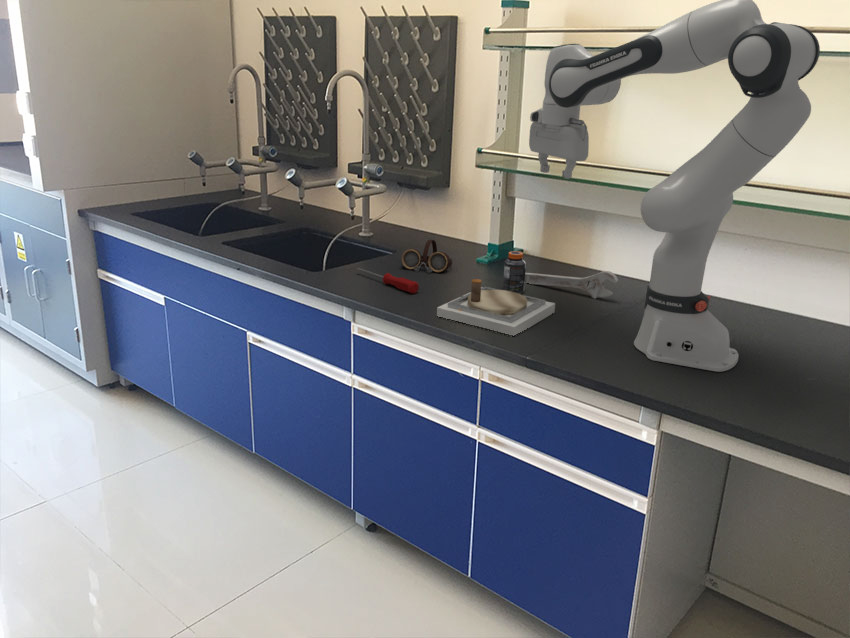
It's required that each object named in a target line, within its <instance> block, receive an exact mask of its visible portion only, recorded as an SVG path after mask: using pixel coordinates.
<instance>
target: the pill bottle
mask: <svg viewBox="0 0 850 638" xmlns="http://www.w3.org/2000/svg"><path fill="white" fill-rule="evenodd" d="M523 258H524V253H523V252H522V251H518V250H517V251H515V250H514V251H509V252H508V258H507V259H505V260H504V264H503V265H504V267H503V283H502V284H503V286H502V290H505V291H511V292H515V293H518V294H523V293H524V292H525V284H526V283H525V281H526V276H525V273H526V266H527V263H526V261H525V260H524V259H523Z"/></svg>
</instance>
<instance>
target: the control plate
mask: <svg viewBox="0 0 850 638" xmlns="http://www.w3.org/2000/svg"><path fill="white" fill-rule="evenodd" d="M481 290H500V289H497V288H493V287H489V286H481ZM470 294H471V292H468V293H466V294H463V295H460V296H459V297H457V298H455V299H453V300H450V301H449V302H447V303H443V304H442V305H439V306H437V308H436V317H437V316H438V317H437V318H439V317H443V318H446V319H445V320H447V319H451V320H455V321H459V322H463V323H466V324H470V325H475V326H479V327H483V328H487V329H490V330H494V331H498V332H501V333H505V334H509V335H513V336H514V335H516V334H518V333H520V332H521V333H523V332H525V331H526V330H528V329H529V328H531V327H532V326H535V325H536V324H538V323H539V322H541V321H543V320H544V319H546V318H548V317H549V316H551V315H552V313H553V314H554V313H555V310H556V302H550V301H546V299H542V298H539V297H534V296H528V295H524V294H522V295H523V296H524V297H526V299H527V307H526V308H524V309H523V310H521V311H519V312H517V313H513V314H496V313H492V312H488V311H484V310H480V309H476V308H472V307H470V306H469V305H468V296H469V295H470ZM443 318H442V319H443ZM451 320H450V321H451ZM455 321H454V322H455ZM466 324H465V325H466ZM470 325H469V326H470ZM527 328H528V329H527ZM524 330H525V331H524ZM522 331H523V332H522ZM521 333H520V334H521ZM518 335H519V334H518ZM516 336H517V335H516Z"/></svg>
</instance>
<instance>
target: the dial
mask: <svg viewBox="0 0 850 638" xmlns="http://www.w3.org/2000/svg"><path fill="white" fill-rule="evenodd" d="M470 286H471V290H470V291H471V294H470V295H469V296H468V305H469V306H470V307H472V308H476V309H480V310H484V311H488V312H492V313H496V314H513V313H517V312H519V311H521V310H523V309H524V308H526V307H527V299H526V297H524V296H523V295H524V294H522V293H520V294H518V293H515V292H511V291H505V290H503V289H499V290H481V287H482V279H480V278H474V279H472V280H471V285H470Z"/></svg>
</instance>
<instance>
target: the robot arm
mask: <svg viewBox="0 0 850 638" xmlns="http://www.w3.org/2000/svg"><path fill="white" fill-rule="evenodd" d="M820 51H821V47H820V42H819V40H818V38H817V36H816V35H815V33H813V32H812V31H811V30H809V29H808V28H806V27H804V26H801V25H798V24H792V23H791V24H789V23H783V22H776V21H774V22H770V23H766V22H765V21H764V20H763V17H762V14H761V11H760V9H759V7H758V5H757V3H756V2H755V1H754V0H718V1H715V2H711V3H709V4H706V5H704V6H701V7H699V8H696V9H693V10H692V11H689V12H686V14H683V15H681V16H679V17H677V18H676V19H674V20H671V21H669V22H667V23H666V24H664V25H662V26H660V27H658V28H656V29H653V30H652V31H650V32H648V33H646V34H643V35H641V36H639V37H638V38H636V39H633V40H630V41H629V42H627V43H623V44H622V45H621V44H620V45H619V46H616V47H613V48H611V49H609V50H605V51H603V52H602V53H598V54H596V55H593V54H592V53H590V52H589V51H588V50H587V49H586V48H585V47H584V45H582V44H579V43H567V44H565V43H564V44H561V45H557V46H555V47H553V48H552V49H551V50H550V51H549V54H548V56H547V61H546V65H545V72H544V73H545V74H544V82H543V83H544V89H545V94H544V98H543V101H542V107H540V108H539V109H537V110H534V111H532V112H531V113H530V116H529V118H530V119H529V120H530V122H532V123H531V124H530V126H529V127H530V128H529V138H528V141H529V142H528V144H529V145H528V146H529V150H530V151H531V152H534V153H537V154H538V158H537V159H538V161H539V164H540V169H539V171H540V172H541V173H545V174H547V173H549V172H550V167H551V166H550V164H549V162H548V159H549V156H551V157H554V158H555V157H556V158H559V159H564V160H565V164H566V166H565V167H564V168H565V169H563V170H562V173H561V178H563V179H566V180H569V179H572V177H573V176H572V175H573V171H574V169H575V168H576V165H577V162H585V161H586V160H587V159H588V157H589V150H590V149H589V143H590V142H589V141H590V140H589V139H590V138H589V130H588V126H587V124H586V123H585V121H584V120H582V119H580V112H581V106H595V105H596V106H597V105H599V106H600V105H604V104H607V103H610V102H612V101H613V100H614V99H615V98H616V97H617V95H618V94H619V91H620V88H621V85H622V81H621V80H622V79H624V78H625V79H626V78H628V77H632V76H637V75H646V74H648V75H649V74H661V75H662V74H681V73H686V72H687V73H688V72H692V71H696V70H700V69H703V68H706V67H708V66H711V65H713V64H716V63H719V62H721V61H723V60H724V61H725V60H727V62H728V63H727V64H728V67H729V70H730V73H731V75H732V77H734V79H735V80H736V81H737V83H738V85H739V87H740V89H741V91H742V93H743V95H745V96H746V97H750V98H749V100H748V102H747V103H746V104H745V105H744V106H743V108H742V109H740V111H739V112H738V113H737V114H736V115H735V116H734V117H733V118H732V119H731V120H730V121H729V122H727V124H726V125H725V126H724V127H723V128H722V129H721V130H720V132H719V133H718V134H716V136H715V137H713V139H711V141H710V142H709V143H708V144H707V145H706V146H704V148H702V149H701V150H700V151H699V152H697V153H696V154H695V155H693V157H691V158H690V159H688V160H687V161H686V162H684V164H681V166H679V167H678V168H677V169H676V170H674V171H673V172H672V173H671V174H670V175H668V176H667V177H666V178H665V179H663V180H662V181H661V182H659V183H658V184H656V185H655V186H653V187H652V188H650V189H649V190H648V191H646V193H645V194H644V195H643V197H642V199H641V203H640V215H641V217H642V218H641V219H642V221H643V223H644V224H645V225H646V226H647V227H648V228H650V229H651V230H653V231H655V232H659V233H660V232H661V233H665V234H664V236H663V239H662V240H661V242H660V244H659V245H658V246H657V247H656V249H655V251H654V253H653V257H652V264H651V271H650V279H649V285H647V287H646V291H645V296H644V304H643V305H644V306H643V307H644V308H643V309H644V313H643V317H642V321H641V323H640V327H639V330H638V333H637V335H636V337H635V339H634V341H633V345H634V347H635V348H636V349H637V350H638V351H640V352H642V353H643V354H645V355H646V357H647V359H649V360H651V361H655V362H662V363H665V364H671V365H672V364H673V365H678V366H682V367H683V366H684V367H689V368H693V369H694V368H695V369H699V370H705V371H706V370H707V371H710V372H711V371H712V372H717V373H718V372H719V373H721V372H725V371H729V370H731V369H732V368H734V367H735V366H736V365H737V364H738V361H739V353H738V351H737V350H736V349H735V348H732V347H731V346H730V333H729V330H728V328H727V326H725V325H724V324H723V323H721V321H720V320H719V319H718V318H716V317H715V315H713V314H712V313H711V312H710V311H709V310H708V309H709V305H710V301H711V294H710V295H708V296H707V295H706V294H705V293H704V292H703V291H702V288H703V283H704V282H703V281H704V276H705V272H706V266H707V261H708V257H709V255H710V251H711V249H712V247H713V243H714V241H715V238H716V236H717V233H718V230H719V228H720V227H721V224H722V221H723V219H724V218H725V216H727V214H728V213H729V212H730V210H731V209H732V206H733V203H734V192H735V191H737V190H739V189H741V188H742V187H744V186H745V185H747V184H748V183H749V182H750V181H751V180H752V179H753V178H754V177H755V176H756V175H758V174H759V173H760V172H761V170H763V169H764V168H765V167H766V166H767V165H769V163H770V162H771V161H772V160H773V159H774V158H776V157H777V156H778V155H779V154H780V153H781V152H782V151H783V150H784V149H785V148H786V146H787V145H789V144H790V142H791V141H793V139H794V137H796V135H797V134H798V133H799V131H800V130H801V129H802V128H803V126H804V125H805V124H806V122H807V121H808V119H809V118H810V116H811V112H812V104H811V101H810V99H809V97H808V96H807V94H806V93H805V91H804V90H802V89H801V86H800V84H799V81H800V80H803V78H805V77H806V76H807V75H809V74H810V73H811V72H812V70H814V68H815V66H816V65H817V63H818V61H819V58H820V54H821V53H820Z"/></svg>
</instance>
